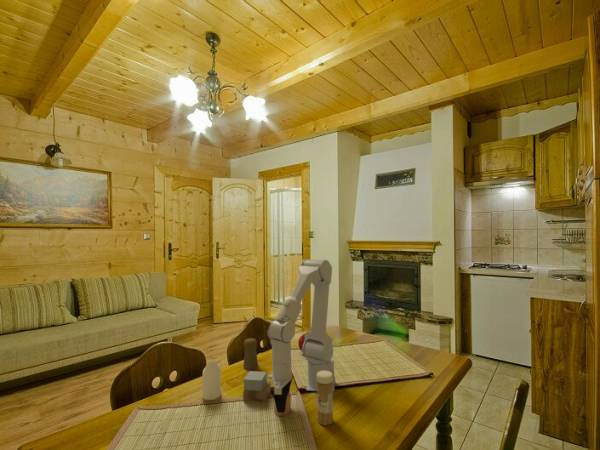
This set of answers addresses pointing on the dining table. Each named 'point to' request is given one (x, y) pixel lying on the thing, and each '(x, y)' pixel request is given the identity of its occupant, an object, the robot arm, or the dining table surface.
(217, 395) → the cream domed cylinder
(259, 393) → the walnut slab
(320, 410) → the sprinkles bottle
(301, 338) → the christmas ornament
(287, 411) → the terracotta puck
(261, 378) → the slate-grey block
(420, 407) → the dining table surface
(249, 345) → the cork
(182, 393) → the dining table surface
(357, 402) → the dining table surface
